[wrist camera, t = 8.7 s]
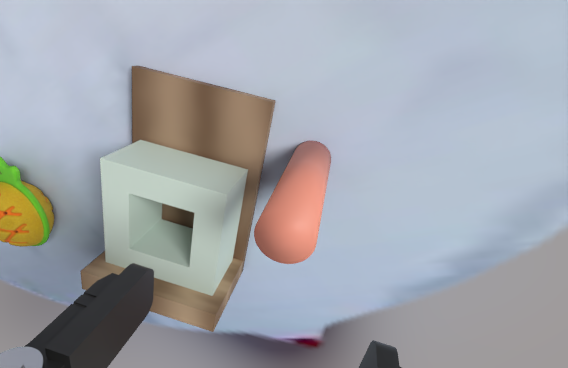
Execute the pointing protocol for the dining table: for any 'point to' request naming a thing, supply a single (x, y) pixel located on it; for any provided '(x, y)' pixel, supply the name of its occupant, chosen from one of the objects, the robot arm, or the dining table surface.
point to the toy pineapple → (22, 210)
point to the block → (178, 193)
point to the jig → (206, 143)
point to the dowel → (295, 206)
